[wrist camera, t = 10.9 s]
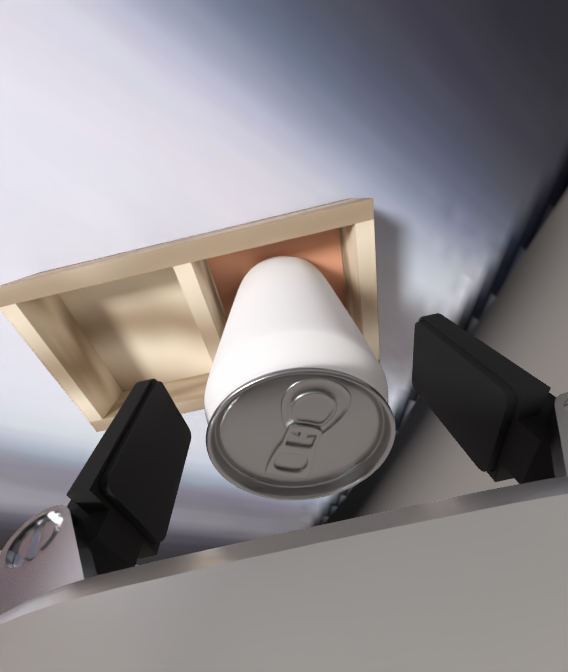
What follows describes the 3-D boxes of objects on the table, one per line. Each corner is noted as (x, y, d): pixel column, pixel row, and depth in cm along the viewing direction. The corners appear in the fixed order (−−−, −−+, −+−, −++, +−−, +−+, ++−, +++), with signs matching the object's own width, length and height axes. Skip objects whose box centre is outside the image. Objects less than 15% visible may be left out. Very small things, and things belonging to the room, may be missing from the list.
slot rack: (38, 272, 17) (-16, 290, 14) (350, 198, 17) (373, 198, 13) (121, 396, 22) (97, 431, 19) (362, 344, 22) (380, 370, 18)
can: (343, 268, 17) (455, 382, 7) (313, 348, 20) (358, 515, 10) (247, 242, 16) (204, 329, 6) (230, 331, 19) (180, 497, 9)
